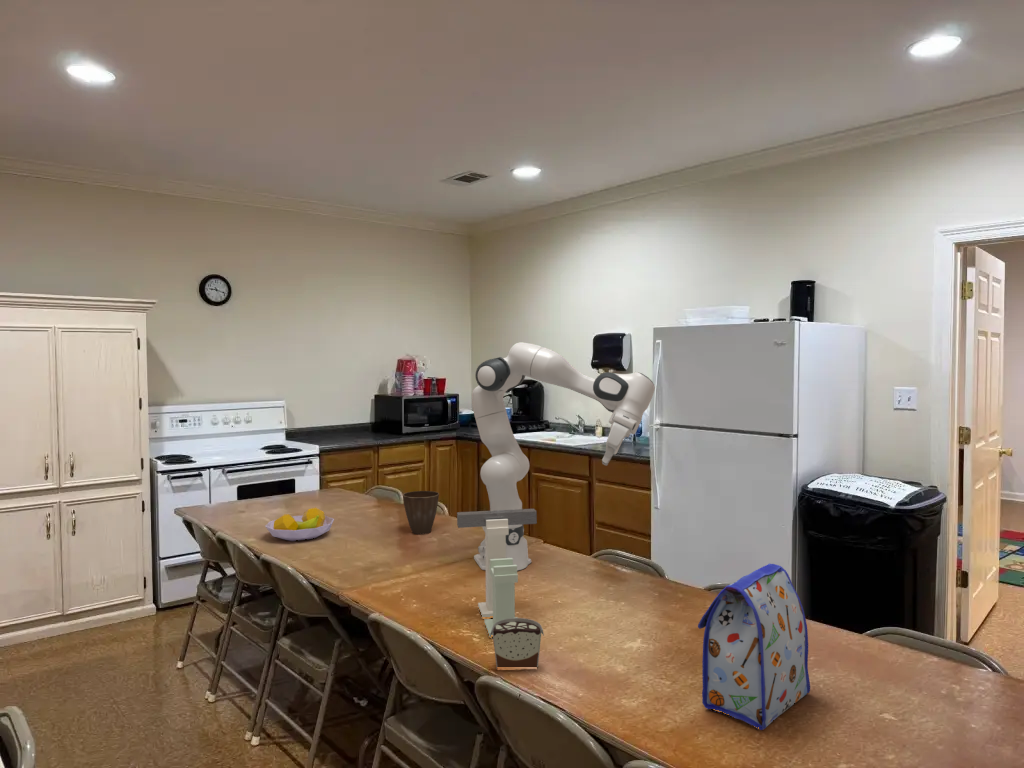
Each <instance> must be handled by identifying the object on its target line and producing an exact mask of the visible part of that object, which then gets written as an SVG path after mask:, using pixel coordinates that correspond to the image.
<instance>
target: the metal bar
mask: <svg viewBox="0 0 1024 768" xmlns="http://www.w3.org/2000/svg"><path fill="white" fill-rule="evenodd" d="M537 516H538V515H537V510H536V509H535V508H522V509H517V510H496V511H490V510H479V511H459V512H456V525H457V527H458V529H459V528H461V529H463V528H479V527H481V528H482V527H483V526H486V520H492V519H508V525H521V524H523V525H536V524H538V522H537V520H538V519H537V518H538V517H537Z"/></svg>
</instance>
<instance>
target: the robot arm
mask: <svg viewBox="0 0 1024 768" xmlns="http://www.w3.org/2000/svg"><path fill="white" fill-rule="evenodd" d="M526 377H529V378H531V379H534V380H536V381H538V382H542V383H546V384H549V385H553V386H556V387H557V386H558V387H561V388H564V389H569V390H571V391H574V392H577V393H578V394H581V395H583V396H586V397H589V398H591V399H593V400H595V401H597V402H598V403H600V404H601V405H602V406H603V408H605V410H607V411H608V412H609V413H611V415H610V417H609V420H608V423H609V424H610V427H609V429H610V431H609V434H608V437H607V439H606V442H605V453H604V454H603V457H602V459H601V463H602V465H604V466H608V465H609V463H610V461H611V460H612V457H613V455H617V453H618V452H619V449H620V447H621V445H622V443H623V441H624V439H625V438H629V437H630V435H635V434H636V433H637V430H638V429H639V426H640V424H641V422H642V420H643V415H644V413H645V412H646V410H647V409H648V408H649V406H650V403H651V401H652V398H653V396H654V393H655V388H656V387H655V384H654V382H653V380H652V379H650V378H649V377H648V376H647V375H646V374H643V372H642V373H641V372H638V371H635V372H632V373H615V372H612V371H611V372H610V371H608V372H606V371H605V372H603V373H601V374H599V375H598V376H597V377H596V378H594V377H591V376H589V375H586V374H584V373H582V372H580V371H579V370H578V369H576V368H575V367H573V365H571V363H570V362H569V361H568V360H567V359H566V358H565V357H564V356H563V355H561V354H560V353H558V352H557V351H554V350H553V349H550V348H548V347H545V346H541V345H538V344H536V343H530V342H522V341H520V342H516V343H515V344H513V345H512V346H511V347H510V349H509V351H508V354H507V356H506V357H501V356H499V357H494V358H490V359H488V360H485V361H483V362H481V363H480V364H479V365H477V368H476V371H475V380H476V381H475V382H476V383H477V384H478V385H477V386H476V387H474V389H472V391H471V403H472V404H471V405H472V410H473V415H474V418H475V422H476V426H477V427H476V428H477V429H478V433H479V437H480V440H481V442H482V443H483V444H484V445H485V446H486V448H487V449H488V451H489V453H490V455H491V457H490V458H488V459H487V460H485V462H484V463H483V465H482V466H481V468H480V474H479V476H480V479H481V481H482V483H483V484H484V485H485V487H486V491H487V494H488V495H487V496H488V500H489V511H496V510H517V509H523V502H522V499H520V496H519V493H518V487H517V482H520V481H522V480H523V478H525V477H526V476H527V474H528V472H529V470H530V461H529V458H528V457H527V456H526V454H524V452H523V451H522V449H521V447H520V445H519V443H518V441H517V439H516V437H515V435H514V432H513V429H512V427H511V423H510V419H509V416H508V413H507V409H506V405H505V401H504V395H505V393H506V394H508V393H510V392H512V391H513V390H514V389H516V388H518V387H519V386H520V385H522V383H523V382H524V380H525V378H526ZM508 527H509V535H506V558H512V559H513V565H517V571H521V570H524V569H525V568H528V565H530V564H531V563H532V558H530V557H529V552H528V551H529V550H528V541H527V539H526V538H525V537H524V535H525V532H524V531H525V528H524V524H521V525H508ZM477 551H478V553H477V554H474V555H473V559H474V561H475V562H476V564H477V565H478V566H479V568H480V569H481V570H483V571H486V561H485V538H484V539H483V540H482V541H481V542H480V545H479V546H478V547H477Z"/></svg>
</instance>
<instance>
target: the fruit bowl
mask: <svg viewBox="0 0 1024 768" xmlns="http://www.w3.org/2000/svg"><path fill="white" fill-rule="evenodd" d="M325 514H326V513H325V512H324V511H323V510H321V509H320V508H318V507H316V506H315V507H311V508H308V509H307V510H306V511H304V513H303V514H302V515H294V516H292V515H291V514H288V513H284V514H282V515H281V516H279V517H278V518H276V519H273V520H270V521H268V523H266V524H265V528H266V529H267V531H268V532H269V533H270V535H271V536H272V537H274V538H278V539H282V540H286V541H289V542H296V540H298V541H306V540H305V539H307V540H314V539H315V538H318V537H320V536H321V535H323V534H325V533H327V532H328V531H330V530H331V528H332V525H333V523H334V521H335V518H333V517H330V516H326V515H325ZM313 538H314V539H313Z"/></svg>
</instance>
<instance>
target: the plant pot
mask: <svg viewBox="0 0 1024 768" xmlns="http://www.w3.org/2000/svg"><path fill="white" fill-rule="evenodd" d="M439 496H440V493H439V492H437V491H431V490H417V491H416V490H414V491H407V492H404V493H403V494H402V500H403V506H404V511H405V515H406V518H407V521H408V524H409V527H410V531H411V533H412V534H413V533H414V534H413V535H427V534H430V533H431V531H432V529H433V526H434V522H435V519H436V515H437V509H438V506H439V505H438V503H439V498H440V497H439Z"/></svg>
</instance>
